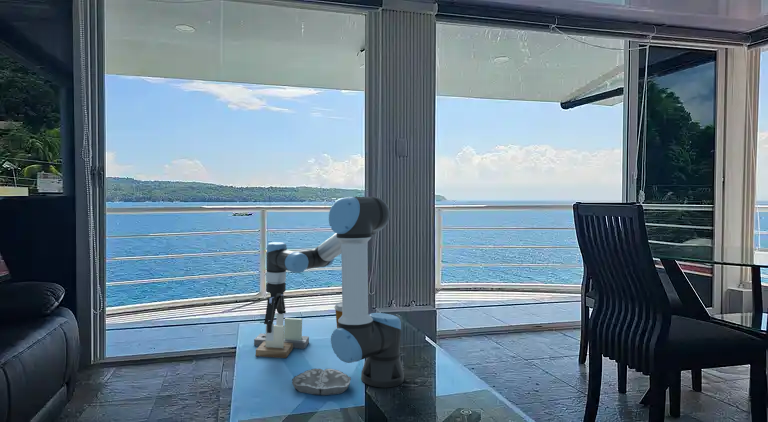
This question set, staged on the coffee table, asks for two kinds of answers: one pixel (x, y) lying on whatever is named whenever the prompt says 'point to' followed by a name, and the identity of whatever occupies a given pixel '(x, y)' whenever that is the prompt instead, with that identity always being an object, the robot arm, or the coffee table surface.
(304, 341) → the grey slotted plate
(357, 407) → the coffee table surface
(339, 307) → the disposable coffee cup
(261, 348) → the frame
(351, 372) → the coffee table surface
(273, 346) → the pale green slab
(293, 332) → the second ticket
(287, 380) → the coffee table surface
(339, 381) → the brain slice
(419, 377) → the coffee table surface
